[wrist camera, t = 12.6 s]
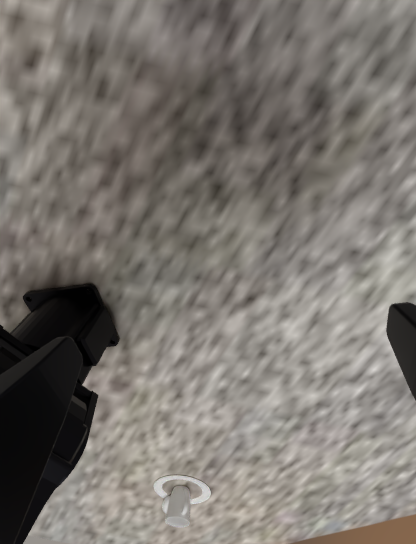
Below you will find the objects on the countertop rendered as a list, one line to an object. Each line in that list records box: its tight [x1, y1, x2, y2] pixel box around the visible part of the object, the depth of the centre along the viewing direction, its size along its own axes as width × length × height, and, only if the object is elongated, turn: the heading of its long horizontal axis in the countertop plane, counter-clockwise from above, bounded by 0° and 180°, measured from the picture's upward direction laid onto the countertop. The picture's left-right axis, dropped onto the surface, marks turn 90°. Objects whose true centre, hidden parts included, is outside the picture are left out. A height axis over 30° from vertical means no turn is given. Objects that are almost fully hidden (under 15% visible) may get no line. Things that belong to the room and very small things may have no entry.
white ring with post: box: [154, 475, 211, 527], centre depth 39 cm, size 9×8×4 cm
